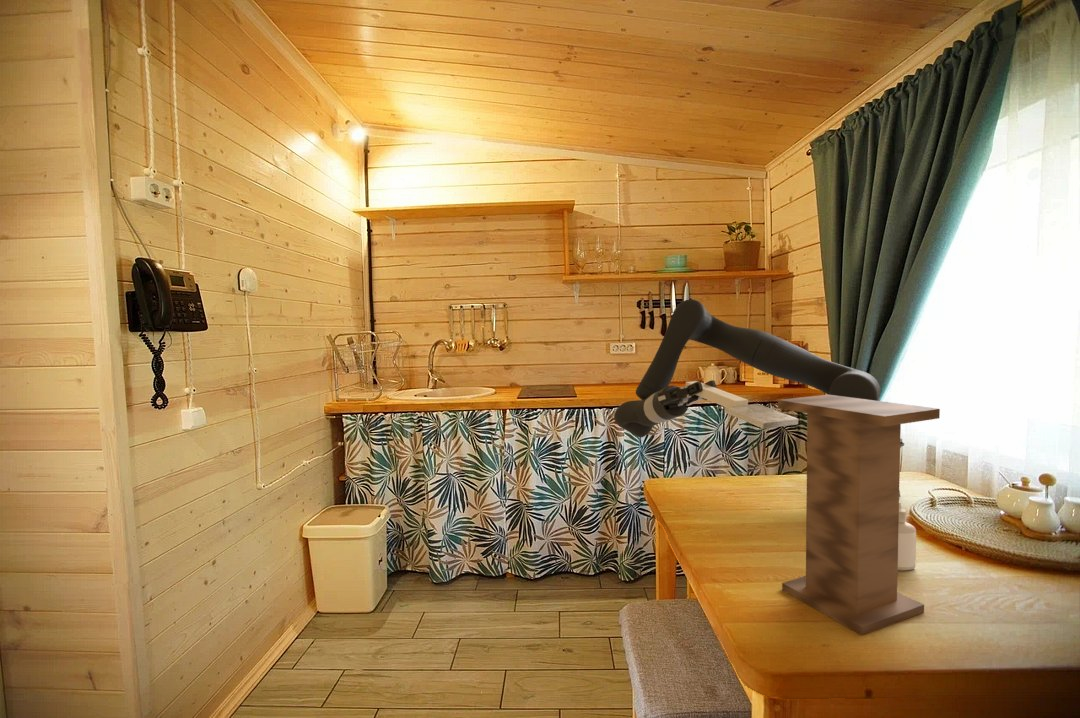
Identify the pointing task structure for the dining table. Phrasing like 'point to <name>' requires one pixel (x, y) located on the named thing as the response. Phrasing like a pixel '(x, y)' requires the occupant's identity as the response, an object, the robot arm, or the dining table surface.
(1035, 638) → the dining table surface
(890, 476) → the shelf stand
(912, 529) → the eye dropper bottle
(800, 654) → the dining table surface
